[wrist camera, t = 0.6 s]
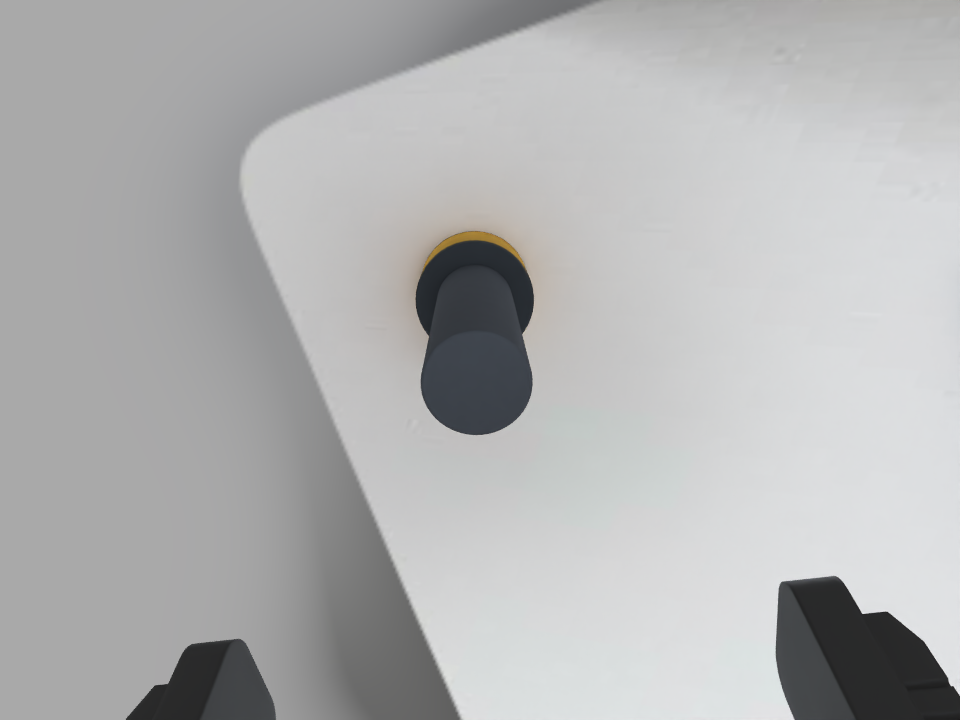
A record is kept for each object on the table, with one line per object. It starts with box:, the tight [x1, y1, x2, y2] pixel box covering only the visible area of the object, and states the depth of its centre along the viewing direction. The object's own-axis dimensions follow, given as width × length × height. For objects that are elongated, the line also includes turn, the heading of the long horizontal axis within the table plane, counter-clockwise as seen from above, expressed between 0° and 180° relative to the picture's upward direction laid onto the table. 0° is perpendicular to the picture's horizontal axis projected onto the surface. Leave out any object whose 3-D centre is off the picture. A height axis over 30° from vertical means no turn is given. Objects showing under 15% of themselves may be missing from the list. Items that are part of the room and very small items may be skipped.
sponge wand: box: [416, 231, 534, 435], centre depth 23 cm, size 4×4×12 cm
